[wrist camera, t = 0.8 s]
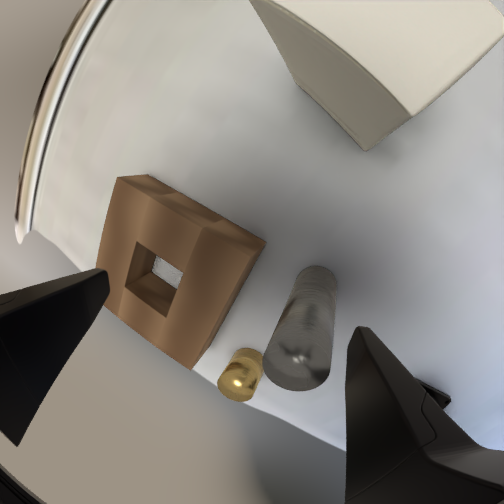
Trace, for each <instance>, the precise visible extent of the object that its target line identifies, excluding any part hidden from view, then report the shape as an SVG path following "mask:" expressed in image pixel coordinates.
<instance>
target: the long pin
mask: <svg viewBox="0 0 504 504" xmlns="http://www.w3.org/2000/svg"><path fill="white" fill-rule="evenodd" d="M336 291H337V283H336V279H335V277H334V275H333V274H332V273H331V272H330V271H329V270H328V269H326V268H323V267H320V266H312V267H308V268H306V269H304V270H303V271H302V272H301V273H300V274H299V275H298V277H297V280H296V282H295V284H294V287H293V289H292V292H291V294H290V296H289V299H288V301H287V303H286V306H285V308H284V310H283V313H282V315H281V317H280V319H279V322H278V324H277V326H276V329H275V331H274V333H273V335H272V338H271V340H270V342H269V344H268V346H267V349H266V351H265V353H264V355H263V359H262V366H263V370H264V372H265V374H266V375H267V377H268V378H269V379H270V380H271V381H272V382H273V383H275V384H276V385H278V386H279V387H282V388H284V389H287V390H291V391H307V390H311V389H314V388H316V387H318V386H320V385H321V384H322V383H323V382H324V381H325V380H326V379H327V377H328V376H329V373H330V368H331V358H332V348H333V337H334V324H335V309H336Z"/></svg>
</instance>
